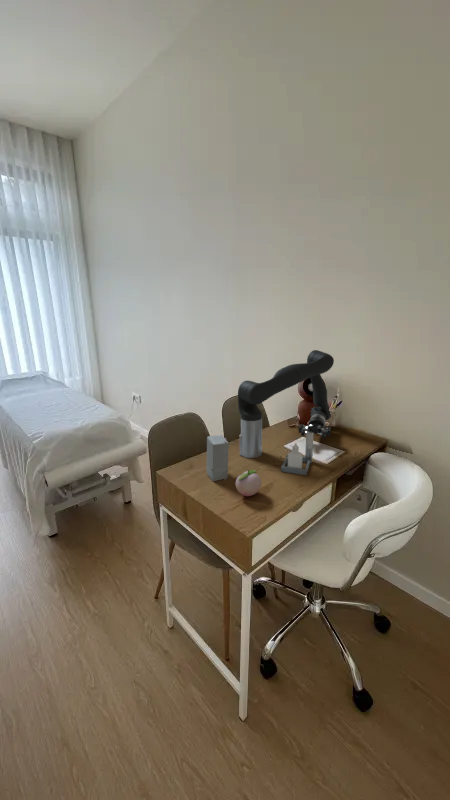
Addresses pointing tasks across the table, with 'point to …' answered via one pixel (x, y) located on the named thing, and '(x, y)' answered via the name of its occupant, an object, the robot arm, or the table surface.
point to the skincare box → (217, 457)
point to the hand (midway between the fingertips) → (312, 435)
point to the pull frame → (304, 459)
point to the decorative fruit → (248, 483)
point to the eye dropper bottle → (295, 457)
